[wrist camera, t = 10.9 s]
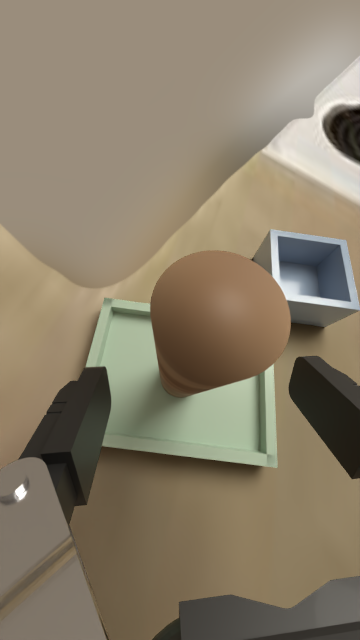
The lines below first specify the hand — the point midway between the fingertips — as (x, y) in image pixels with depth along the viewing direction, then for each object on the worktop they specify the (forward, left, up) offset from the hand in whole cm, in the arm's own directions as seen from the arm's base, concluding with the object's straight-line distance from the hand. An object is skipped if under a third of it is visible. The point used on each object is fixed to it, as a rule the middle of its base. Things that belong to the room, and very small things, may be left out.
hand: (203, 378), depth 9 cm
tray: (0, +1, -12) cm, 12 cm away
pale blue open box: (+11, +12, -12) cm, 20 cm away
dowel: (0, +1, -11) cm, 11 cm away
